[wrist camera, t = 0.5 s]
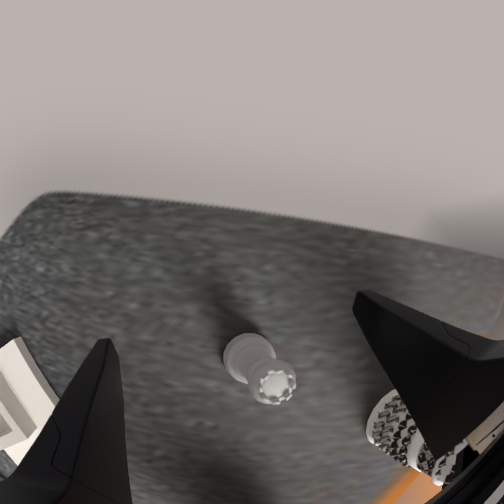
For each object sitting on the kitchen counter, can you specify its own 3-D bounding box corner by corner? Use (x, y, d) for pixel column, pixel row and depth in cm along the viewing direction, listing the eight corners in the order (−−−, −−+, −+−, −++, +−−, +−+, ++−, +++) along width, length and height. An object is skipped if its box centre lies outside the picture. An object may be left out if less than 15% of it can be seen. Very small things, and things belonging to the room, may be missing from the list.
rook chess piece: (212, 349, 23) (228, 381, 16) (255, 321, 24) (289, 340, 17) (239, 387, 24) (266, 429, 16) (279, 360, 25) (320, 390, 17)
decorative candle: (361, 403, 27) (552, 490, 3) (417, 372, 29) (587, 412, 5) (362, 458, 26) (507, 549, 2) (415, 426, 29) (554, 481, 5)
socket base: (92, 440, 19) (83, 462, 15) (28, 466, 16) (16, 483, 12) (20, 336, 19) (-1, 344, 15) (-34, 377, 15) (-53, 386, 12)
